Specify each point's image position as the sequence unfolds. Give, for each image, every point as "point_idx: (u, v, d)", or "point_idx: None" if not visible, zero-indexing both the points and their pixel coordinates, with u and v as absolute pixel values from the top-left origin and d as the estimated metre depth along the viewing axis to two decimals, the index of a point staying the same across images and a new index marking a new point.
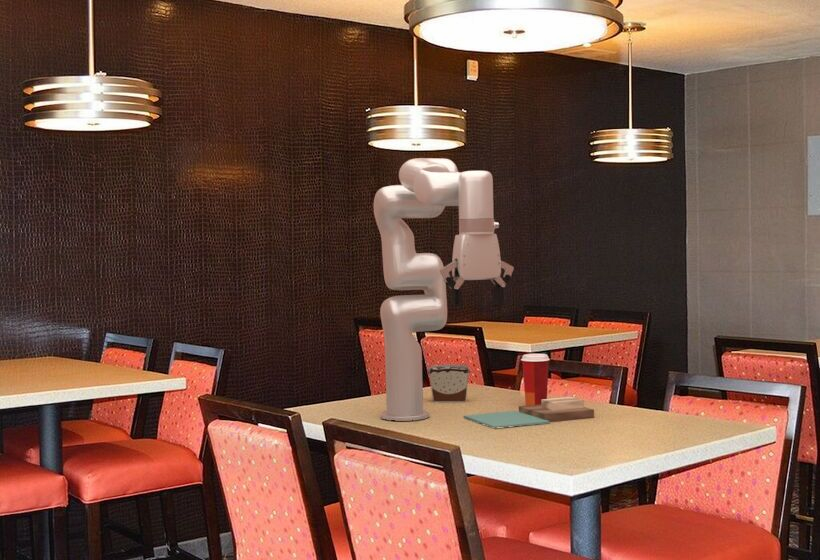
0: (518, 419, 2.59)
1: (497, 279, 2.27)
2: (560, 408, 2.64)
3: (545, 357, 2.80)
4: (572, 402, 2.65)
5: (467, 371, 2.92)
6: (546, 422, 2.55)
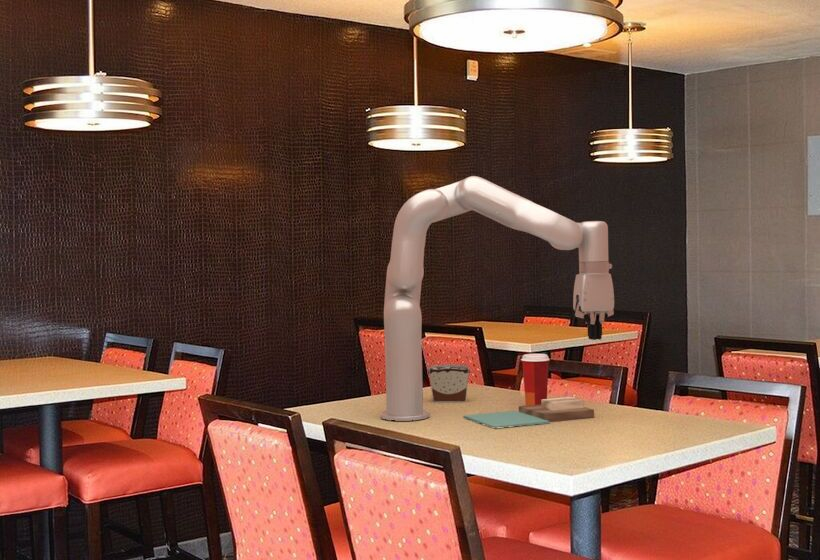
0: (518, 419, 2.59)
1: (601, 314, 2.69)
2: (560, 408, 2.64)
3: (545, 357, 2.80)
4: (572, 402, 2.65)
5: (467, 371, 2.92)
6: (546, 422, 2.55)
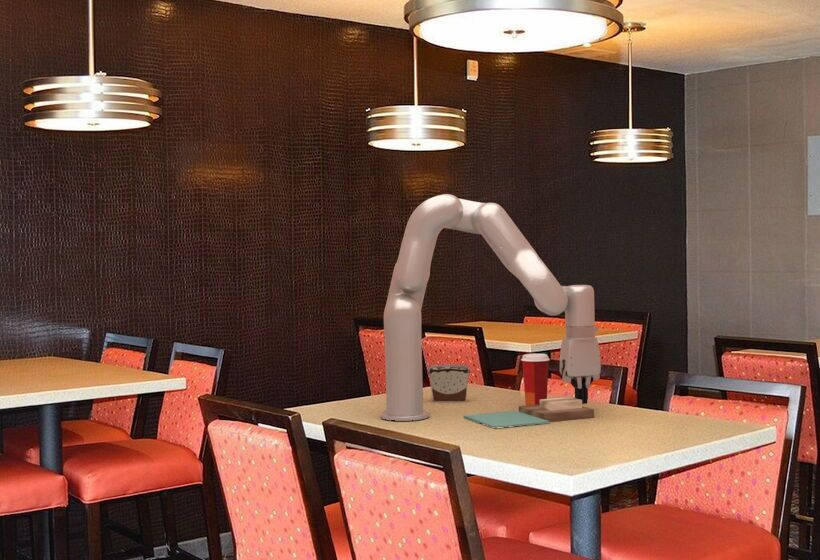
0: (518, 419, 2.59)
1: (587, 378, 2.68)
2: (558, 408, 2.63)
3: (545, 357, 2.80)
4: (570, 402, 2.65)
5: (467, 371, 2.92)
6: (546, 422, 2.55)
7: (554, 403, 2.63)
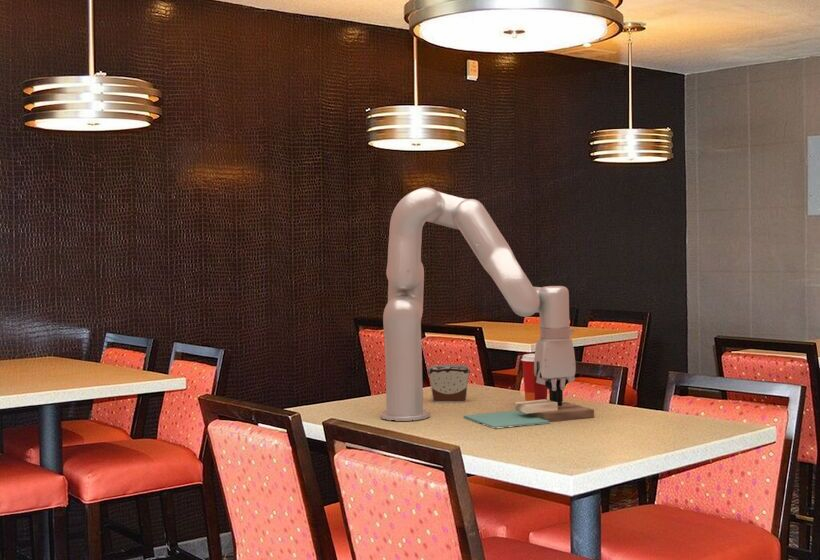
0: (518, 419, 2.59)
1: (562, 381, 2.65)
2: (534, 411, 2.60)
3: None
4: (546, 405, 2.61)
5: (467, 371, 2.92)
6: (546, 422, 2.55)
7: (529, 406, 2.60)
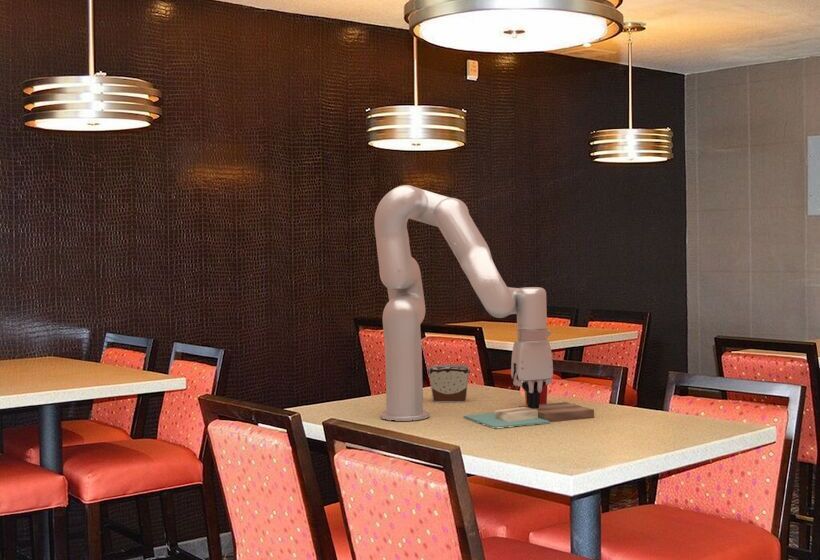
0: None
1: (539, 383, 2.63)
2: (515, 419, 2.57)
3: None
4: (527, 413, 2.59)
5: (467, 371, 2.92)
6: (546, 422, 2.55)
7: (511, 414, 2.57)
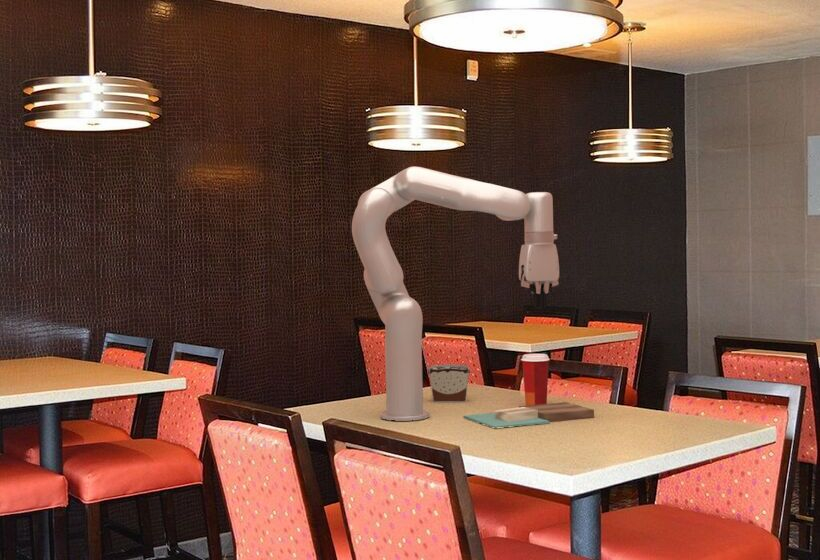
0: None
1: (546, 284, 2.73)
2: (515, 419, 2.57)
3: (545, 357, 2.80)
4: (527, 413, 2.59)
5: (467, 371, 2.92)
6: (546, 422, 2.55)
7: (511, 414, 2.57)
